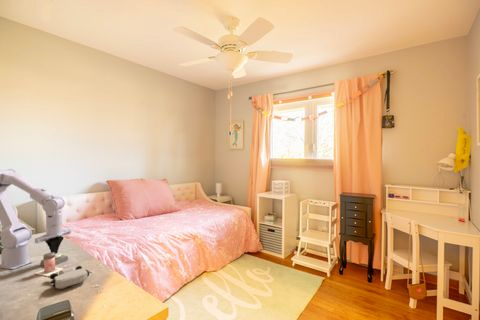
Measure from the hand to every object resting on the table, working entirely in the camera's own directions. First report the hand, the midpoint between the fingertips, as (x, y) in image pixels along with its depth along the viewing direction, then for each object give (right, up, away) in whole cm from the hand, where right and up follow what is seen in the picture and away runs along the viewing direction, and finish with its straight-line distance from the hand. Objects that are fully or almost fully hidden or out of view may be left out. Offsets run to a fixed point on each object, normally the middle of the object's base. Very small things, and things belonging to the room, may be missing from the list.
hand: (54, 253), depth 106 cm
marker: (+5, -4, -9) cm, 11 cm away
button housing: (0, -4, 0) cm, 4 cm away
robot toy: (+20, -4, -17) cm, 27 cm away
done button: (0, -4, 0) cm, 4 cm away
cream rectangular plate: (+5, -4, -9) cm, 11 cm away
